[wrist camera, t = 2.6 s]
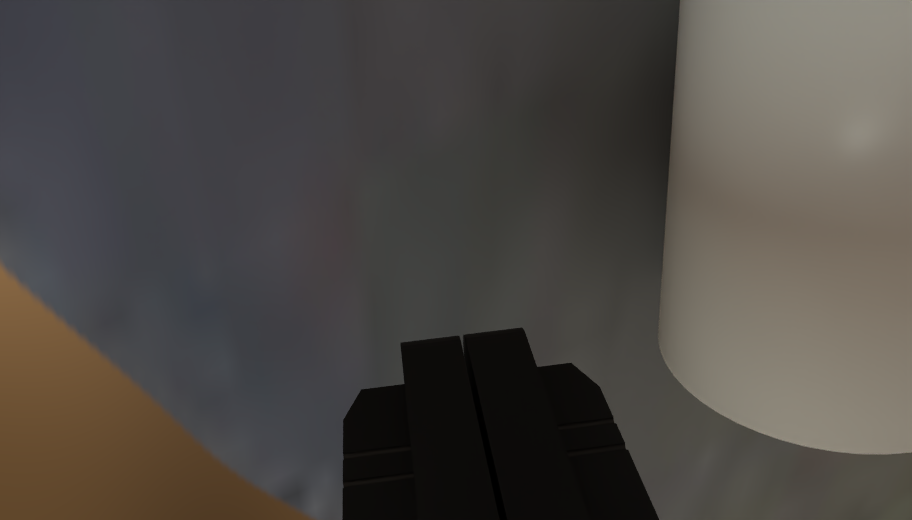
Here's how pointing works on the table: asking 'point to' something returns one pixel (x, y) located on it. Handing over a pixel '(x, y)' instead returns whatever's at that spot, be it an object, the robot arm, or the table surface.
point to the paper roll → (793, 219)
